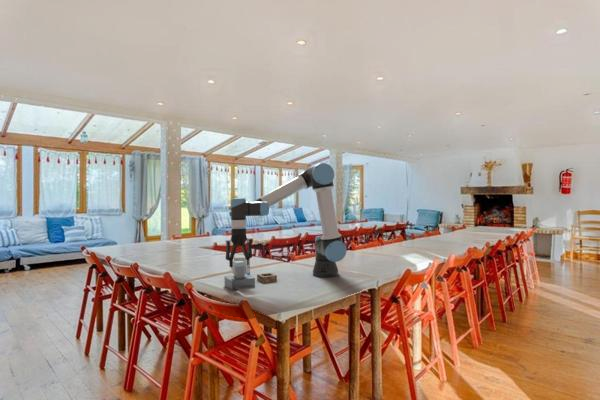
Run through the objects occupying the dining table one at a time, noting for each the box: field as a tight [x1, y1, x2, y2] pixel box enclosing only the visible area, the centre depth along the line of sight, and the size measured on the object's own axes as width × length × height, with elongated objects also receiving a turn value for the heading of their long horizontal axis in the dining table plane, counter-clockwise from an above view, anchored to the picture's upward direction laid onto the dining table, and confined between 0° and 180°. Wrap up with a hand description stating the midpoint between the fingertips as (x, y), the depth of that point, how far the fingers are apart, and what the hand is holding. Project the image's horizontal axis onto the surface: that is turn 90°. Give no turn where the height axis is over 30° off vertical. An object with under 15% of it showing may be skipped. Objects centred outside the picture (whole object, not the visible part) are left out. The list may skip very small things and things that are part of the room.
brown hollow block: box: [256, 272, 278, 284], centre depth 188 cm, size 8×8×4 cm
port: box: [224, 274, 256, 292], centre depth 179 cm, size 12×12×5 cm
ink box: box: [233, 256, 251, 276], centre depth 201 cm, size 9×5×12 cm, turn 74°
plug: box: [233, 260, 245, 279], centre depth 179 cm, size 4×4×12 cm
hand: (239, 272), depth 179 cm, fingers open, 6 cm apart
